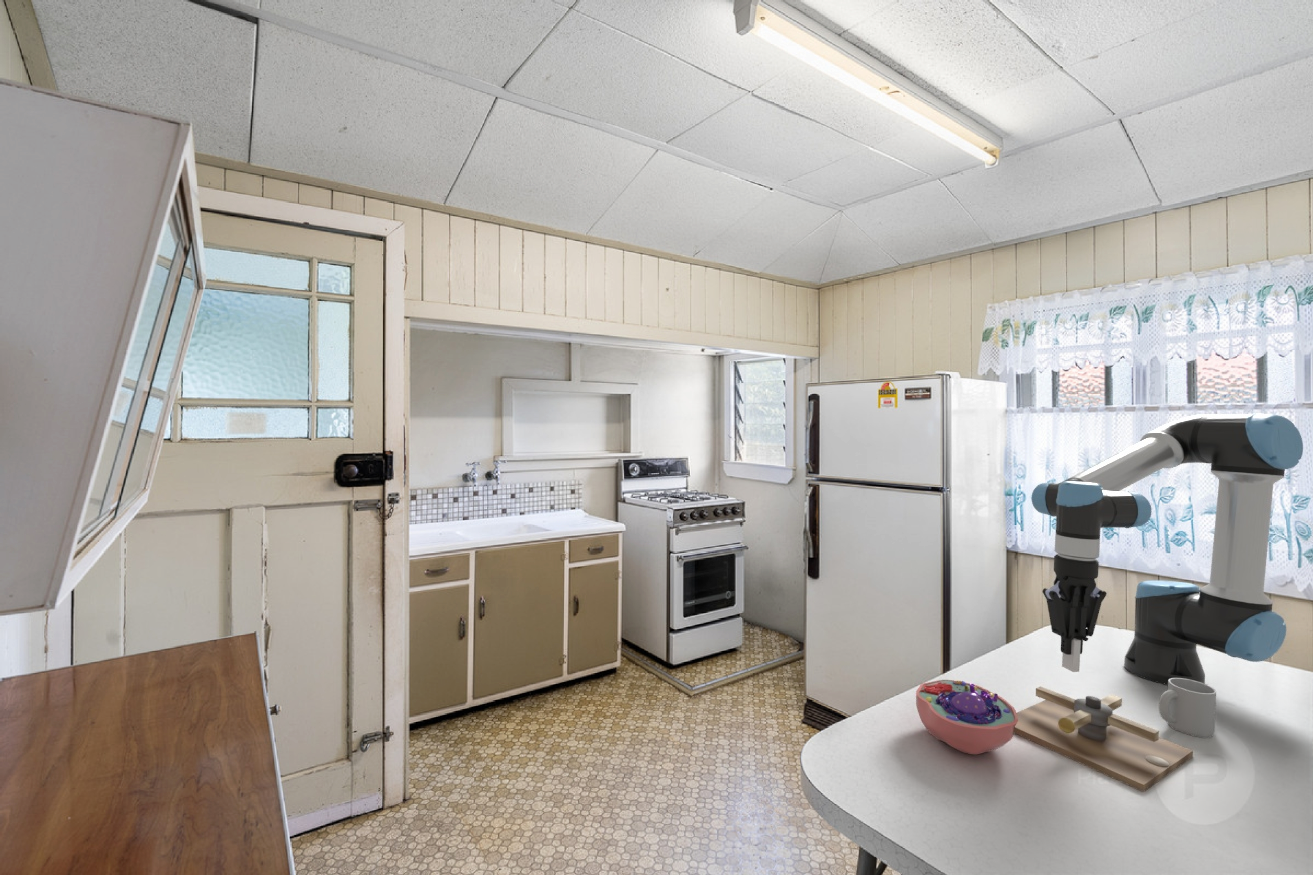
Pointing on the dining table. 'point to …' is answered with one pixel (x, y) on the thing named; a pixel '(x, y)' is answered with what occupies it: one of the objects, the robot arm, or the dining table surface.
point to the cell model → (965, 715)
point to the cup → (1189, 707)
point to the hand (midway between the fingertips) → (1070, 668)
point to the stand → (1102, 746)
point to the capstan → (1095, 714)
